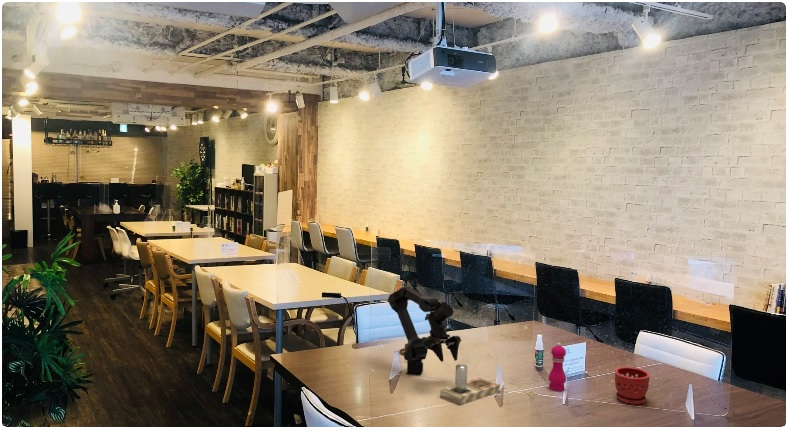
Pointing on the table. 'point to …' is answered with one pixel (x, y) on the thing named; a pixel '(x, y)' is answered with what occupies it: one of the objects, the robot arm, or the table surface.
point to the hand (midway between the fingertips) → (449, 360)
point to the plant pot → (631, 385)
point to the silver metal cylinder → (461, 379)
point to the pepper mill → (557, 368)
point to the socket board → (470, 391)
